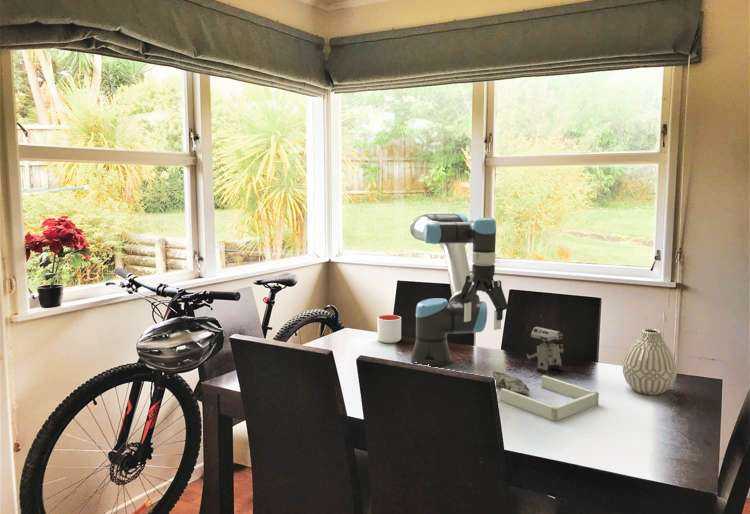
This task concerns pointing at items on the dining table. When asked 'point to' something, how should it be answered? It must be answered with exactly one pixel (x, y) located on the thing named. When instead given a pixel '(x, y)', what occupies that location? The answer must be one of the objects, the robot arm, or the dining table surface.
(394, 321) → the cup
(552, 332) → the figurine
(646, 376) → the vase
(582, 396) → the corral
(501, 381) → the mineral rock
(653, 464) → the dining table surface
